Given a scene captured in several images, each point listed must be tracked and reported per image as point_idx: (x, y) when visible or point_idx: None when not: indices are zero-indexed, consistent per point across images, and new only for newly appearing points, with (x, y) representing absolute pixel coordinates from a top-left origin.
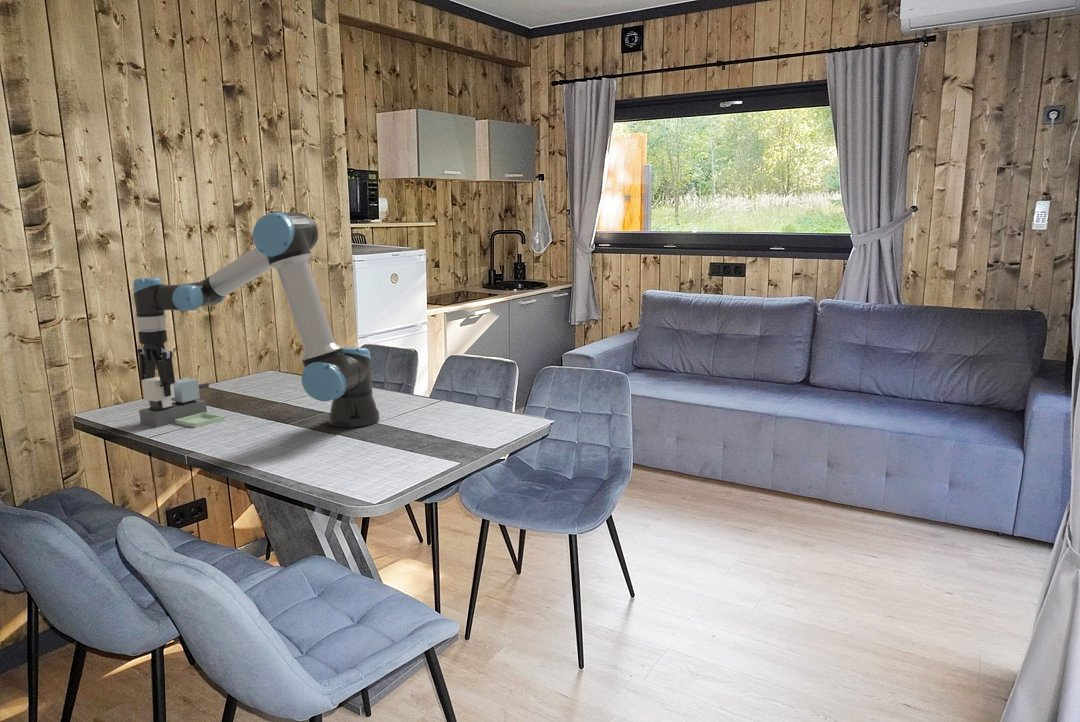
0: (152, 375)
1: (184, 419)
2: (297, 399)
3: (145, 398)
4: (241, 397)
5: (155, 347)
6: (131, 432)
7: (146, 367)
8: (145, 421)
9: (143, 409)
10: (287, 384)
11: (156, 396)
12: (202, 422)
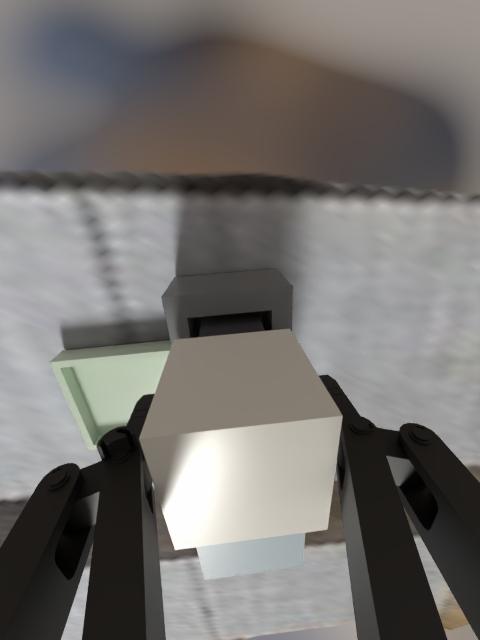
0: (344, 509)
1: None
2: (183, 578)
3: (278, 333)
4: (311, 535)
5: None
6: (226, 200)
7: (412, 613)
8: (245, 276)
9: (282, 301)
10: (317, 601)
11: (169, 359)
12: (60, 384)
